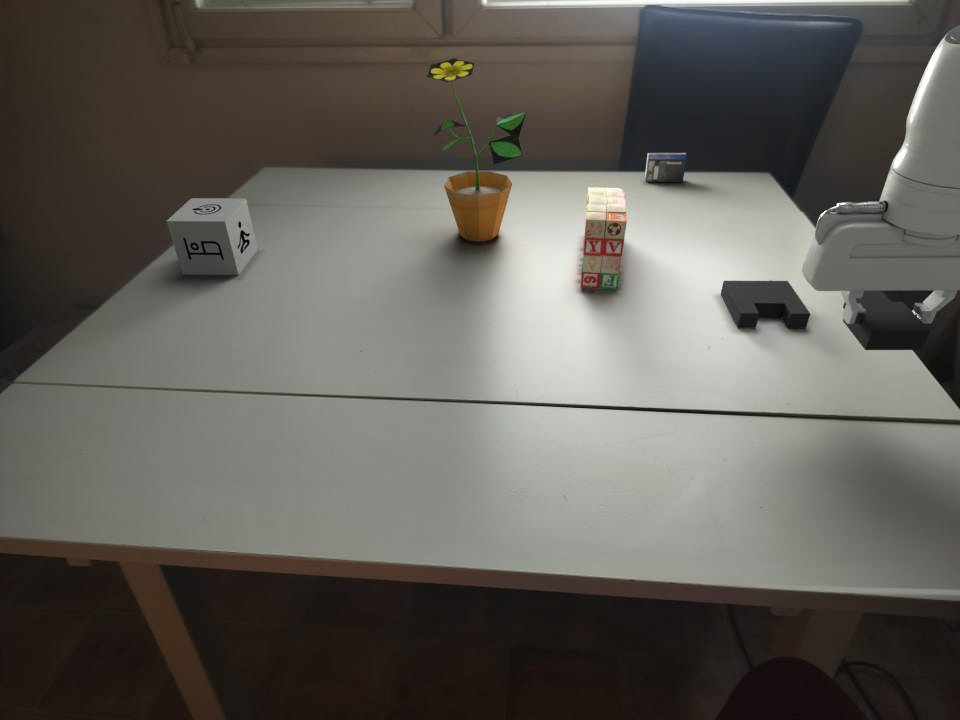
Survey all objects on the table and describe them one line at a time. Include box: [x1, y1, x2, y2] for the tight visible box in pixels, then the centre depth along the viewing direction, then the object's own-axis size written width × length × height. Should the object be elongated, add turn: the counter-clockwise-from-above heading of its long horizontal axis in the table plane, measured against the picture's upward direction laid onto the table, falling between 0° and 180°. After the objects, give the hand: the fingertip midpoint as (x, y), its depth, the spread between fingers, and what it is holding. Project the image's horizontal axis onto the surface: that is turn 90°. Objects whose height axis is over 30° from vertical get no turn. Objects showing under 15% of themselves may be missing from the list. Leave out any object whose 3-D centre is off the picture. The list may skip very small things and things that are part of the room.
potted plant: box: [426, 58, 527, 242], centre depth 119 cm, size 18×19×30 cm
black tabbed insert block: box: [842, 291, 931, 351], centre depth 75 cm, size 6×9×2 cm, turn 178°
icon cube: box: [166, 197, 259, 276], centre depth 117 cm, size 10×10×10 cm
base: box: [720, 280, 811, 329], centre depth 102 cm, size 10×10×2 cm
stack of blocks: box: [580, 187, 628, 291], centre depth 114 cm, size 21×6×12 cm, turn 171°
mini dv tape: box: [644, 152, 688, 183], centre depth 147 cm, size 8×2×6 cm, turn 86°
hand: (886, 321), depth 73 cm, fingers closed on black tabbed insert block, 6 cm apart
